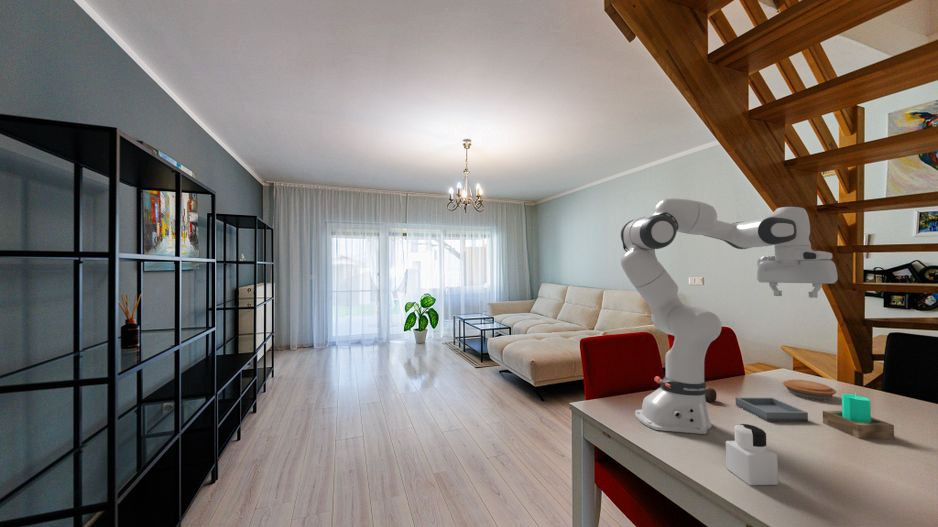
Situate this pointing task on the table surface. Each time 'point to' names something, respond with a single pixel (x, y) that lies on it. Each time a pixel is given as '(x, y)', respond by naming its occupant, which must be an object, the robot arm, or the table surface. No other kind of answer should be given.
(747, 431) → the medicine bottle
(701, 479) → the table surface
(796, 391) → the pie
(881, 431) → the brown wooden open box
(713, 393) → the dark brown oblong piece
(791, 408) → the tray
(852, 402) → the teal green prism
